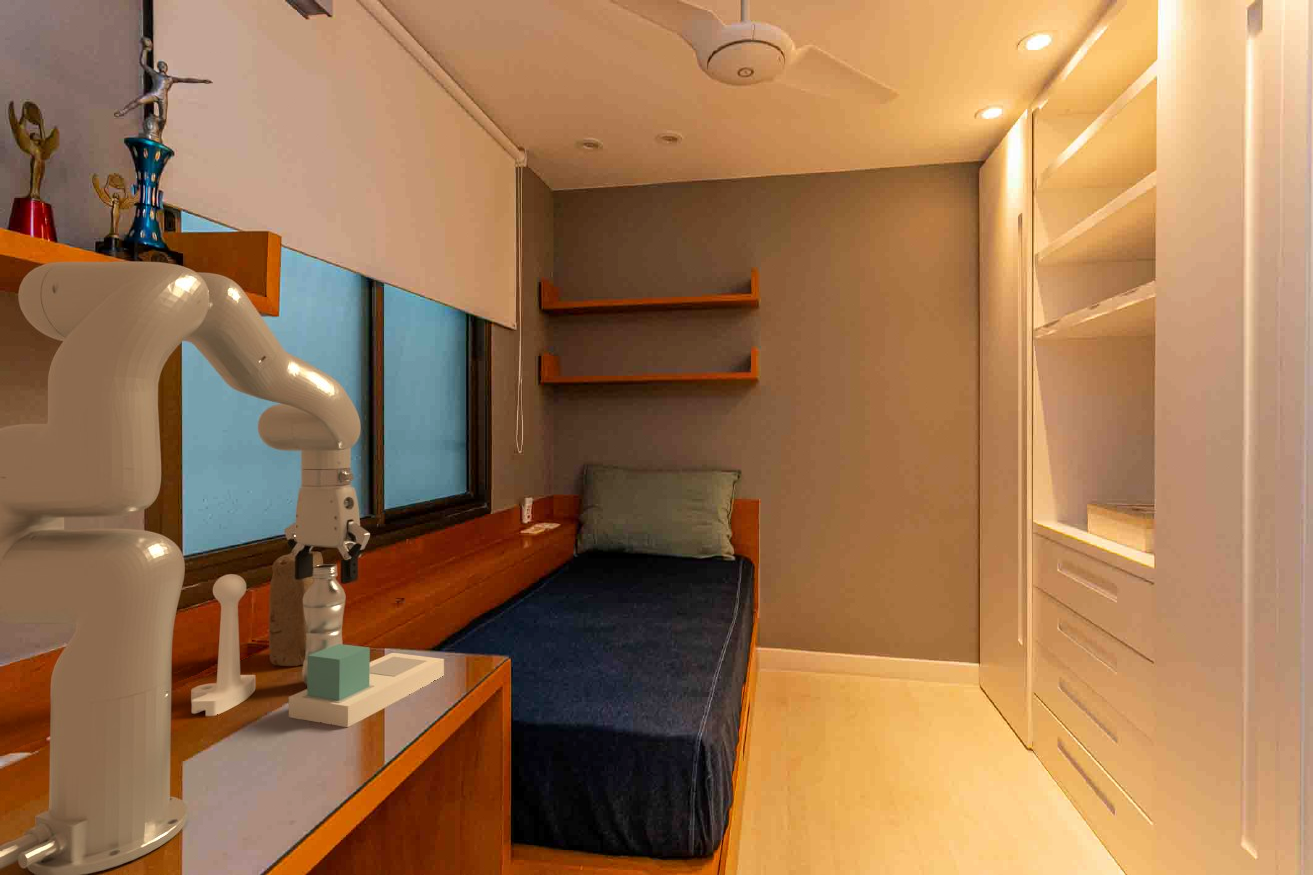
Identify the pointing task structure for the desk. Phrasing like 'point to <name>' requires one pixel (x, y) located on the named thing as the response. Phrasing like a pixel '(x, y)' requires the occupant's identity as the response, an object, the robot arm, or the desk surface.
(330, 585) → the plastic bottle
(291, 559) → the block
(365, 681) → the cube
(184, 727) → the desk surface
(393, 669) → the board
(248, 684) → the joystick
